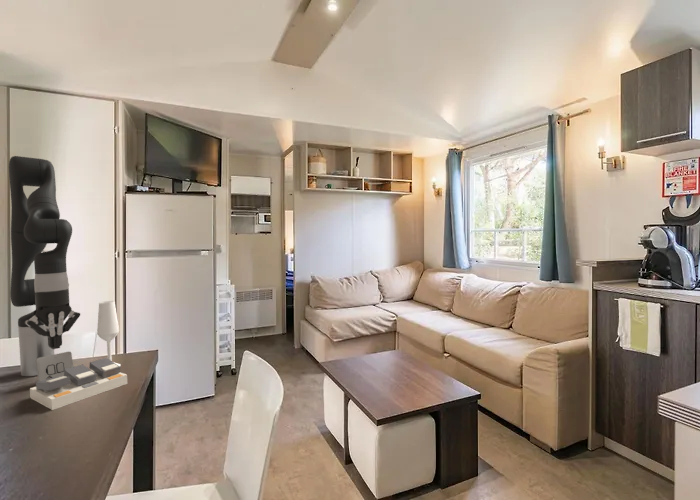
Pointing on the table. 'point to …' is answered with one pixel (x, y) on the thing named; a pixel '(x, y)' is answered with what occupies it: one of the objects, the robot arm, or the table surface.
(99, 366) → the block
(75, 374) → the rocker middle
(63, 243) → the robot arm
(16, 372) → the table surface
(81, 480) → the table surface
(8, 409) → the table surface
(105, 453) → the table surface
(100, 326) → the champagne flute
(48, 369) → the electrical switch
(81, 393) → the switch panel
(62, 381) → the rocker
